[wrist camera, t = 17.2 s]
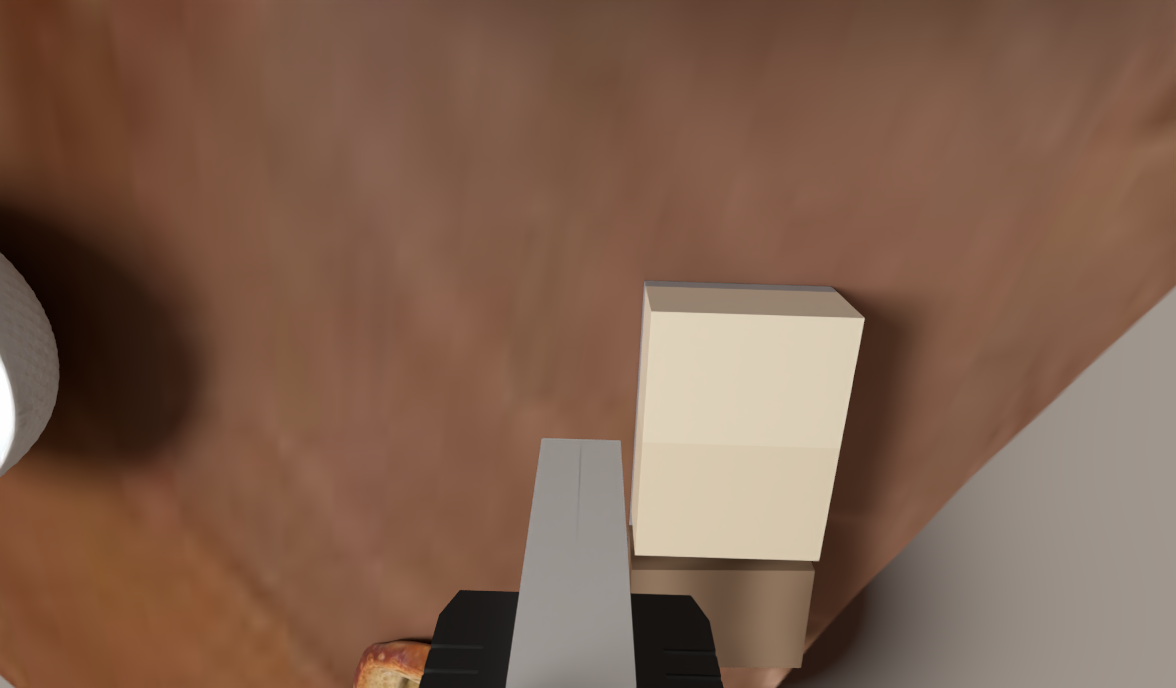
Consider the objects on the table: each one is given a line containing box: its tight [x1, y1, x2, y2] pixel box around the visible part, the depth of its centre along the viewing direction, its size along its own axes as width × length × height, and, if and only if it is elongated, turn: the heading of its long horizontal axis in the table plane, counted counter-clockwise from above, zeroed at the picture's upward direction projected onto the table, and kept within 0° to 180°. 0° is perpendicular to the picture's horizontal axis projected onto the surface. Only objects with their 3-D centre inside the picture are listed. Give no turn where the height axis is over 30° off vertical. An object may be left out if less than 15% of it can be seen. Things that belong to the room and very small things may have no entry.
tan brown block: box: [628, 525, 815, 668], centre depth 41 cm, size 10×7×4 cm
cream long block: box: [629, 281, 865, 561], centre depth 39 cm, size 10×24×5 cm, turn 178°
